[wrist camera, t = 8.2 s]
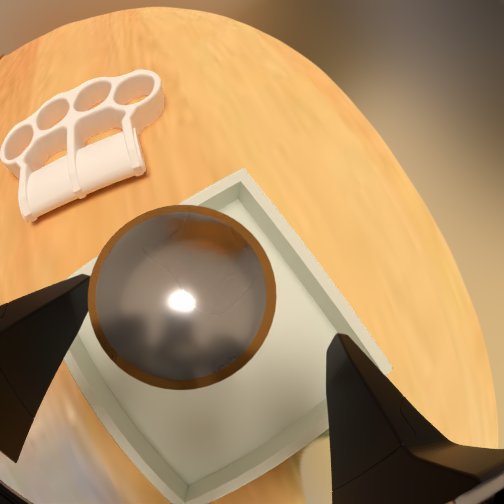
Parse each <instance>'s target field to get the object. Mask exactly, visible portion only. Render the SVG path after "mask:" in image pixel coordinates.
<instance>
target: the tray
mask: <svg viewBox="0 0 504 504" xmlns="http://www.w3.org/2000/svg"><path fill="white" fill-rule="evenodd" d="M178 205H195V206H202V207H206V208H210V209H214V210H216V211H219V212H222V213H224V214H226V215H228V216H230V217H231V218H233V219H235V220H236V221H238V222H239V223H241V224H242V225H243V226H244V227H245V228H247V229H248V230H249V231H250V232H251V233H252V234H253V235H254V237H255V238H256V239H257V240H258V241H259V243H260V244H261V246H262V247H263V249H264V250H265V252H266V254H267V256H268V258H269V260H270V263H271V266H272V269H273V272H274V276H275V282H276V295H277V299H276V310H275V314H274V318H273V323H272V325H271V328H270V330H269V333H268V335H267V337H266V339H265V341H264V343H263V344H262V346H261V348H260V349H259V350H258V352H257V353H256V354H255V355H254V357H253V358H252V359H251V360H250V361H249V362H248V363H247V364H246V365H245V366H244V367H243V368H241V369H240V370H239V371H237V372H236V373H234V374H233V375H232V376H230V377H228V378H226V379H224V380H222V381H220V382H218V383H215V384H213V385H210V386H207V387H202V388H198V389H192V390H170V389H163V388H158V387H154V386H151V385H148V384H146V383H143V382H141V381H139V380H137V379H135V378H133V377H132V376H130V375H128V374H127V373H126V372H124V371H123V370H122V369H120V368H119V367H118V366H117V365H116V364H115V363H114V362H113V361H112V360H111V359H110V358H109V357H108V355H107V354H106V353H105V351H104V350H103V348H102V347H101V345H100V343H99V341H98V340H97V338H96V336H95V333H94V330H93V328H92V325H91V321H90V316H89V311H88V313H87V315H86V317H85V319H84V321H83V324H82V326H81V328H80V330H79V332H78V334H77V336H76V337H75V339H74V341H73V343H72V344H71V346H70V348H69V350H68V351H67V353H66V355H65V357H64V359H63V360H64V361H65V363H66V365H67V367H68V369H69V371H70V373H71V374H72V376H73V378H74V380H75V382H76V383H77V385H78V387H79V388H80V390H81V392H82V393H83V395H84V397H85V398H86V400H87V401H88V403H89V405H90V406H91V408H92V409H93V411H94V412H95V414H96V415H97V417H98V418H99V420H100V421H101V422H102V424H103V425H104V427H105V428H106V429H107V431H108V432H109V434H110V435H111V436H112V438H113V439H114V440H115V442H116V443H117V444H118V445H119V447H120V448H121V449H122V450H123V452H124V453H125V454H126V455H127V457H128V458H129V459H130V460H131V461H132V462H133V464H134V465H135V466H136V467H137V468H138V469H139V471H140V472H141V473H142V474H143V475H144V476H145V477H146V478H147V479H148V480H149V481H150V482H151V484H152V485H153V486H154V487H155V488H156V489H157V490H158V491H159V492H160V493H161V494H162V495H163V496H164V497H165V498H166V499H168V500H169V501H170V502H171V503H172V504H208V503H210V502H213V501H215V500H217V499H219V498H221V497H223V496H225V495H227V494H229V493H231V492H233V491H235V490H236V489H238V488H240V487H242V486H244V485H246V484H247V483H249V482H251V481H253V480H254V479H256V478H258V477H259V476H261V475H263V474H264V473H266V472H268V471H269V470H271V469H273V468H274V467H276V466H277V465H279V464H280V463H282V462H283V461H285V460H286V459H288V458H289V457H291V456H292V455H294V454H295V453H296V452H298V451H299V450H301V449H302V448H303V447H305V446H306V445H308V444H309V443H310V442H312V441H313V440H314V439H316V438H317V437H318V436H319V435H321V434H322V433H323V432H325V431H326V430H327V429H328V428H329V423H328V410H327V399H326V352H327V349H328V347H329V345H330V343H331V341H332V339H333V337H334V336H335V334H337V333H342V334H347V335H348V336H349V337H350V338H351V339H352V340H353V341H354V342H355V343H356V344H357V345H358V346H359V347H360V349H361V350H362V351H363V352H364V353H365V354H366V355H367V356H368V357H369V358H370V359H371V361H372V362H373V363H374V364H375V365H376V366H377V367H378V368H379V369H380V370H381V371H382V373H383V374H384V375H385V376H386V375H387V374H388V373H389V372H390V371H391V370H392V369H393V367H392V366H391V364H390V363H389V361H388V360H387V358H386V357H385V355H384V354H383V352H382V351H381V349H380V348H379V346H378V345H377V344H376V342H375V341H374V339H373V338H372V336H371V335H370V333H369V332H368V330H367V329H366V328H365V326H364V325H363V323H362V322H361V320H360V319H359V317H358V316H357V315H356V313H355V312H354V310H353V309H352V308H351V306H350V305H349V303H348V302H347V301H346V299H345V298H344V296H343V295H342V294H341V292H340V291H339V289H338V288H337V287H336V285H335V284H334V283H333V281H332V280H331V279H330V277H329V276H328V274H327V273H326V272H325V270H324V269H323V268H322V266H321V265H320V264H319V262H318V261H317V260H316V258H315V257H314V256H313V254H312V253H311V252H310V250H309V249H308V248H307V247H306V245H305V244H304V243H303V241H302V240H301V239H300V237H299V236H298V235H297V233H296V232H295V231H294V230H293V228H292V227H291V226H290V225H289V223H288V222H287V221H286V219H285V218H284V217H283V216H282V214H281V213H280V212H279V211H278V209H277V208H276V207H275V206H274V204H273V203H272V202H271V201H270V199H269V198H268V197H267V196H266V194H265V193H264V192H263V191H262V189H261V188H260V187H259V186H258V185H257V183H256V182H255V181H254V180H253V178H252V177H251V176H250V175H249V174H248V172H247V171H246V170H245V169H244V168H242V169H240V170H238V171H236V172H234V173H233V174H231V175H229V176H227V177H225V178H223V179H221V180H220V181H218V182H216V183H214V184H212V185H211V186H209V187H207V188H205V189H203V190H202V191H200V192H198V193H196V194H195V195H193V196H191V197H189V198H188V199H186V200H184V201H183V202H181V203H179V204H178ZM98 256H99V255H98ZM98 256H97V257H95V258H94V259H93V260H91V261H90V262H88V263H87V264H86V265H84V266H83V267H81V268H80V269H79V270H77V271H76V272H75V273H73V274H72V275H70V276H69V277H68V278H66V279H65V280H67V279H69V278H72V277H75V276H77V275H80V274H86V275H89V276H91V274H92V270H93V267H94V265H95V263H96V260H97V258H98Z"/></svg>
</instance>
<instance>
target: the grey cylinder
mask: <svg viewBox="0 0 504 504" xmlns="http://www.w3.org/2000/svg"><path fill="white" fill-rule="evenodd" d="M276 299H277V295H276V282H275V276H274V272H273V269H272V266H271V263H270V260H269V258H268V256H267V254H266V252H265V250H264V249H263V247H262V246H261V244H260V243H259V241H258V240H257V239H256V238H255V237H254V235H253V234H252V233H251V232H250V231H249V230H248V229H247V228H245V227H244V226H243V225H242V224H241V223H239V222H238V221H236V220H235V219H233V218H231V217H230V216H228V215H226V214H224V213H222V212H219V211H216V210H214V209H210V208H206V207H202V206H195V205H173V206H166V207H162V208H157V209H154V210H152V211H149V212H146V213H144V214H142V215H140V216H138V217H136V218H134V219H133V220H131V221H130V222H128V223H127V224H125V225H124V226H123V227H122V228H120V229H119V230H118V231H117V232H116V233H115V234H114V235H113V236H112V237H111V238H110V240H109V241H108V242H107V244H106V245H105V246H104V248H103V249H102V251H101V253H100V254H99V256H98V258H97V260H96V263H95V265H94V267H93V270H92V274H91V277H90V282H89V288H88V310H89V316H90V321H91V325H92V328H93V330H94V333H95V336H96V338H97V340H98V341H99V343H100V345H101V347H102V348H103V350H104V351H105V353H106V354H107V355H108V357H109V358H110V359H111V360H112V361H113V362H114V363H115V364H116V365H117V366H118V367H119V368H120V369H122V370H123V371H124V372H126V373H127V374H128V375H130V376H132V377H133V378H135V379H137V380H139V381H141V382H143V383H146V384H148V385H151V386H154V387H158V388H163V389H170V390H192V389H198V388H202V387H207V386H210V385H213V384H215V383H218V382H220V381H222V380H224V379H226V378H228V377H230V376H232V375H233V374H234V373H236V372H237V371H239V370H240V369H241V368H243V367H244V366H245V365H246V364H247V363H248V362H249V361H250V360H251V359H252V358H253V357H254V355H255V354H256V353H257V352H258V350H259V349H260V348H261V346H262V344H263V343H264V341H265V339H266V337H267V335H268V333H269V330H270V328H271V325H272V323H273V318H274V314H275V310H276Z"/></svg>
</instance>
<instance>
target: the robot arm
mask: <svg viewBox="0 0 504 504" xmlns="http://www.w3.org/2000/svg"><path fill="white" fill-rule="evenodd" d="M90 277H91V276H89V275H86V274H80V275H77V276H75V277H72V278H69V279H67V280H64V281H61V282H59V283H56V284H53V285H51V286H48V287H46V288H43V289H41V290H38V291H35V292H33V293H30V294H28V295H25V296H23V297H20V298H18V299H15V300H13V301H11V302H9V303H6V304H3V305H1V306H0V452H2V453H3V454H4V455H5V456H7V457H8V458H9V459H11V460H12V461H14V462H15V463H17V461H18V458H19V456H20V453H21V450H22V447H23V445H24V442H25V440H26V437H27V435H28V432H29V430H30V427H31V425H32V423H33V420H34V419H33V418H35V416H36V413H37V411H38V409H39V407H40V404H41V402H42V400H43V398H44V396H45V394H46V392H47V390H48V388H49V386H50V384H51V382H52V380H53V378H54V376H55V374H56V372H57V370H58V368H59V366H60V364H61V362H62V361H63V359H64V357H65V355H66V353H67V351H68V350H69V348H70V346H71V344H72V343H73V341H74V339H75V337H76V336H77V334H78V332H79V330H80V328H81V326H82V324H83V321H84V319H85V317H86V315H87V313H88V311H89V310H88V288H89V282H90ZM326 399H327V410H328V423H329V437H330V451H331V471H332V491H333V492H332V504H504V449H489V448H479V447H471V446H463V445H458V444H455V443H453V442H451V441H450V440H448V439H447V438H446V437H445V436H444V435H443V434H442V433H440V432H439V431H438V430H437V429H436V428H435V427H434V426H433V425H432V424H431V423H430V422H429V421H428V420H426V419H425V418H424V417H423V416H422V415H421V414H420V413H419V412H418V411H417V410H416V409H415V408H414V407H413V405H412V404H411V403H410V402H409V401H408V400H407V399H406V398H405V397H404V396H403V395H402V393H401V392H400V391H399V390H398V389H397V388H396V387H395V386H394V385H393V384H392V382H391V381H390V380H389V379H388V378H387V377H386V376H385V375H384V374H383V373H382V371H381V370H380V369H379V368H378V367H377V366H376V365H375V364H374V363H373V362H372V361H371V359H370V358H369V357H368V356H367V355H366V354H365V353H364V352H363V351H362V350H361V349H360V347H359V346H358V345H357V344H356V343H355V342H354V341H353V340H352V339H351V338H350V337H349V336H348V335H347V334H342V333H337V334H335V336H334V337H333V339H332V341H331V343H330V345H329V347H328V349H327V352H326ZM0 504H33V503H32V502H30V501H29V500H27V499H26V498H24V497H23V496H21V495H20V494H18V493H17V492H16V491H14V490H13V489H12V488H10V487H9V486H7V485H6V484H5V483H4V482H2V481H1V480H0Z"/></svg>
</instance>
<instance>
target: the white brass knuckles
mask: <svg viewBox="0 0 504 504" xmlns="http://www.w3.org/2000/svg"><path fill="white" fill-rule="evenodd" d="M140 96H148V97H147V98H145V99H144V100H142V101H140V102H138V103H135V104H131V105H126V104H127V103H128V102H129V101H131V100H132V99H134V98H137V97H140ZM102 101H104V102H102ZM100 102H102V103H101V104H100V105H98V106H97V107H95V108H93V109H91V108H92V107H93V106H94V105H96V104H97V103H100ZM164 107H165V101H164V94H163V88H162V82H161V79H160V77H159V76H158V75H157V74H156V73H154V72H152V71H149V70H135V71H133V72H131V73H128V74H125V75H122V76H118V77H100V78H96V79H92V80H88V81H86V82H85V83H83V84H82V85H80V86H78V87H76V88H74V89H72V90H70V91H67V92H63V93H59V94H57V95H56V96H54V97H53V98H51V99H50V100H48V101H47V102H45V103H44V104H43V105H42V106H41V108H40V109H38V110H37V111H36V112H35V113H34V114H33V115H31V116H30V117H29V118H27V119H26V120H24V121H22V122H20V123H17V124H16V125H15V126H14V127H13V128H12V130H11V131H10V132H9V133H8V135H7V136H6V138H5V140H4V142H3V144H2V147H1V151H0V158H1V161H2V163H3V164H4V165H5V166H6V167H7V168H8V169H9V170H10V171H11V172H12V173H13V174H14V175H15V176H16V177H17V178H18V179H20V181H19V192H18V197H19V206H20V210H21V214H22V216H23V218H24V220H25V221H27V222H29V221H32V222H33V221H35V220H37V218H38V217H39V216H41V215H43V214H45V213H47V212H49V211H51V210H53V209H55V208H57V207H60V206H62V205H64V204H66V203H68V202H70V201H73V200H75V199H77V198H79V199H82V198H84V197H86V194H89V193H91V192H94V191H96V190H98V189H101V188H103V187H106V186H108V185H111V184H113V183H116V182H118V181H121V180H124V179H126V178H129V177H132V176H140V175H143V174H144V172H146V166H145V161H144V157H143V153H142V149H141V145H140V141H139V135H140V133H141V132H142V130H143V129H144V128H145V127H147V126H149V125H150V124H152V123H153V122H155V121H156V120H157V119H158V118H159V117H160V115H161V114H162V112H163V110H164ZM90 109H91V110H90ZM61 119H62V120H61ZM59 120H61V121H60V122H59V123H58V124H57V125H55V126H54V127H53V125H54V124H55V123H57V122H58V121H59ZM113 128H120V129H122V130H123V132H121V133H118V134H115V135H113V136H110V137H107V138H105V139H102V140H100V141H97V142H95V143H93V144H90V145H88V146H86V147H85V144H86V142H87V140H88V139H89V138H91V137H93V136H95V135H98V134H100V133H103V132H105V131H108V130H110V129H113ZM28 145H29V146H28ZM27 146H28V147H27ZM26 147H27V148H26ZM25 148H26V150H25V151H24V152H23V150H24V149H25ZM66 148H67V155H66V156H64V157H62V158H60V159H58V160H56V161H54V162H52V163H50V164H48V165H46V166H44V164H45V163H46V161H47V159H48V158H49V157H50V156H52V155H54V154H56V153H58V152H60V151H62V150H64V149H66ZM22 152H23V153H22ZM21 153H22V154H21ZM43 166H44V167H43Z"/></svg>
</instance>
